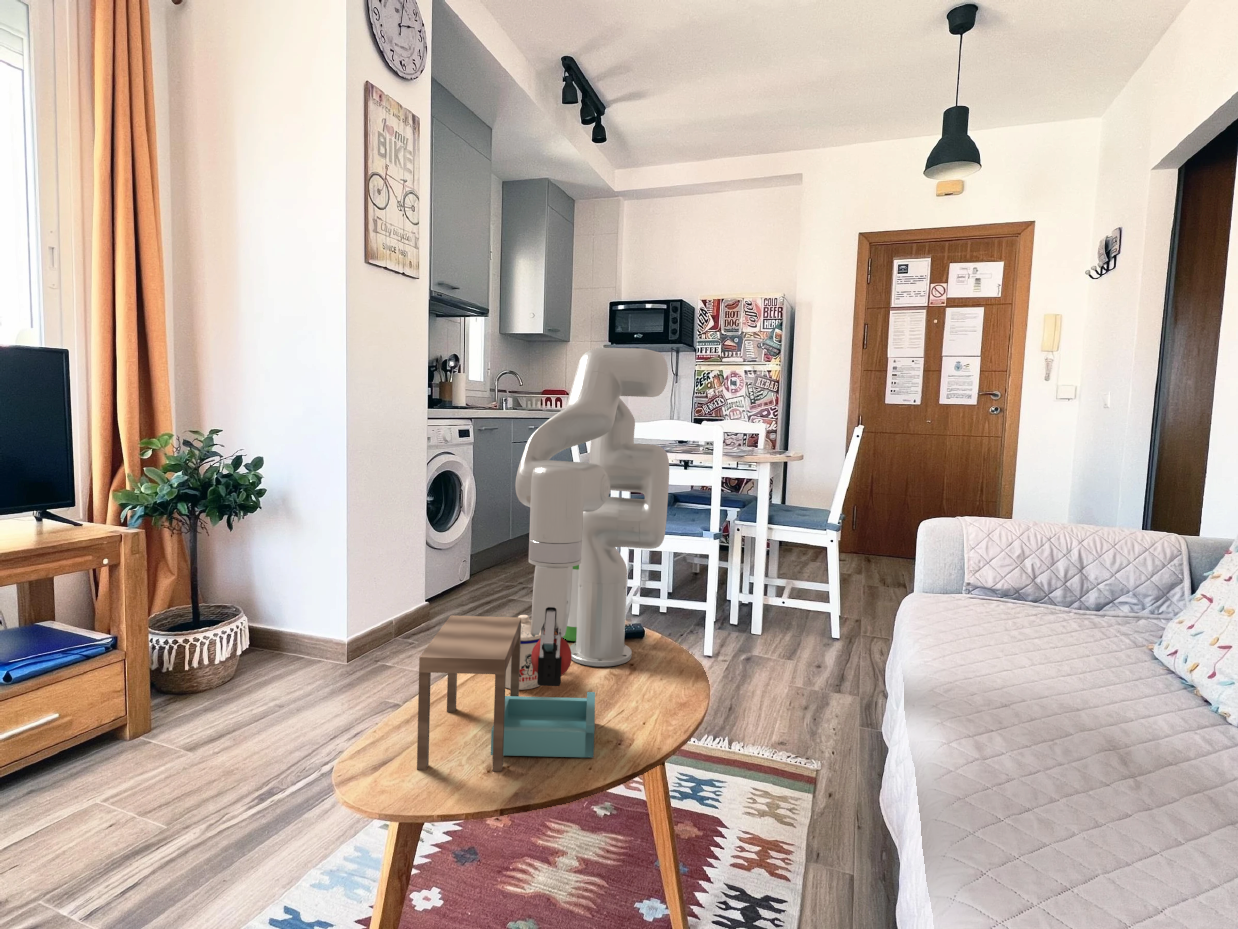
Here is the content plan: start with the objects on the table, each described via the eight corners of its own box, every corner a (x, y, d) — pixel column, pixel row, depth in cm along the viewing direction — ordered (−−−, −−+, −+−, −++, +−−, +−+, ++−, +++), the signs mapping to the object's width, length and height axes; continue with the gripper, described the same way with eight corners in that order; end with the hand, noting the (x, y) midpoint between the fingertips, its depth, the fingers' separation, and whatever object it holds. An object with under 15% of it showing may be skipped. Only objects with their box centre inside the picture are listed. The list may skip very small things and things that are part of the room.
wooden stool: (448, 708, 103) (450, 615, 102) (518, 710, 103) (521, 617, 102) (416, 769, 85) (419, 657, 84) (501, 771, 85) (505, 659, 84)
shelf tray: (502, 718, 99) (503, 689, 99) (593, 720, 100) (594, 692, 100) (490, 755, 88) (491, 723, 88) (593, 757, 89) (594, 725, 89)
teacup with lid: (522, 696, 108) (524, 627, 108) (484, 681, 114) (486, 616, 113) (568, 674, 118) (570, 612, 118) (531, 662, 123) (533, 602, 123)
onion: (521, 682, 93) (523, 627, 93) (551, 671, 98) (552, 619, 97) (549, 694, 89) (551, 637, 89) (578, 682, 94) (580, 628, 93)
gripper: (534, 540, 101) (530, 654, 102) (521, 563, 84) (517, 700, 85) (583, 542, 101) (578, 655, 102) (580, 565, 84) (574, 702, 85)
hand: (550, 674), depth 93 cm, fingers closed on onion, 5 cm apart
